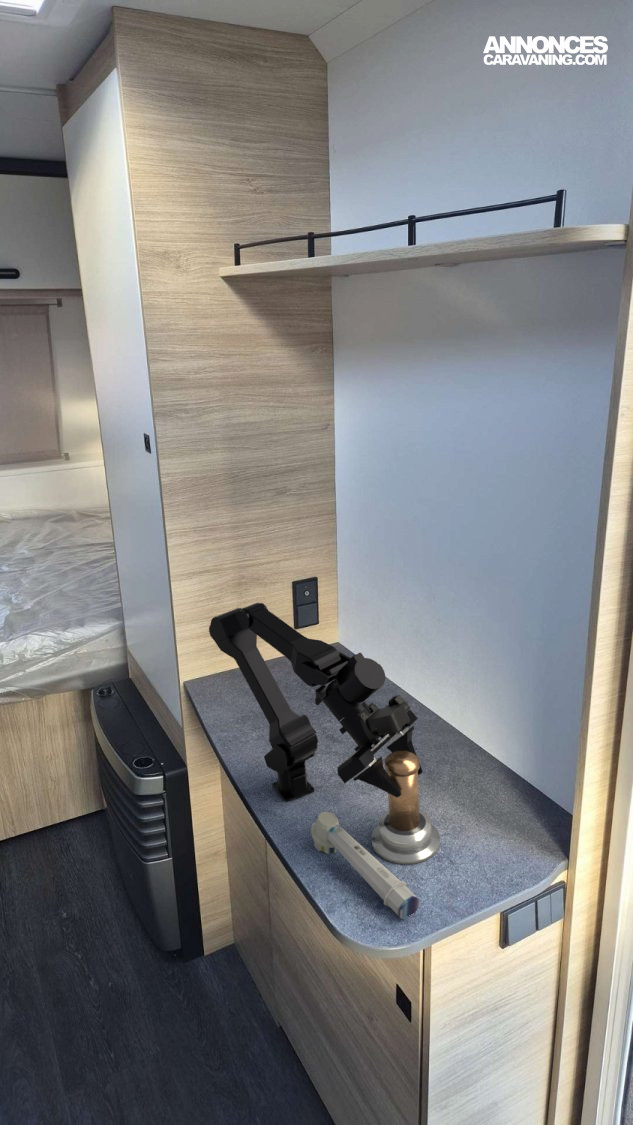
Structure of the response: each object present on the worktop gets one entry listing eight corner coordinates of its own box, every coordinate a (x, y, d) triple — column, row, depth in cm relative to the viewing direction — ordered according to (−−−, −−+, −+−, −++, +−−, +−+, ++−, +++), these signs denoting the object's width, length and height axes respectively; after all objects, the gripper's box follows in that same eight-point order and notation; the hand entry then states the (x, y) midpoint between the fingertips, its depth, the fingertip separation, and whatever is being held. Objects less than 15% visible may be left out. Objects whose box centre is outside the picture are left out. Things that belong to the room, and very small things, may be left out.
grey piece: (397, 906, 119) (305, 809, 137) (395, 938, 121) (305, 838, 140) (423, 891, 121) (329, 797, 140) (421, 922, 124) (329, 826, 143)
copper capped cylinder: (381, 818, 138) (378, 756, 134) (409, 807, 141) (406, 746, 137) (399, 836, 133) (396, 772, 129) (427, 824, 136) (425, 762, 132)
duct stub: (358, 834, 141) (357, 815, 140) (415, 812, 146) (414, 793, 145) (395, 873, 131) (394, 853, 129) (454, 848, 136) (453, 828, 134)
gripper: (348, 714, 124) (412, 794, 122) (406, 666, 139) (464, 737, 136) (311, 744, 131) (371, 821, 128) (369, 697, 145) (425, 765, 143)
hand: (410, 784), depth 134 cm, fingers open, 7 cm apart
